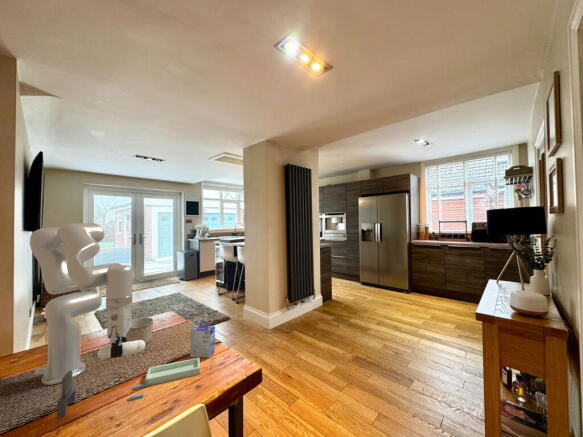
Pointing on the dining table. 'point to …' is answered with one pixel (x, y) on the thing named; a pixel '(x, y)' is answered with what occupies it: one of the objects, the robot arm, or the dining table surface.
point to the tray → (172, 371)
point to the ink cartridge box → (202, 341)
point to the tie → (66, 395)
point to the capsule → (126, 348)
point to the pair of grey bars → (138, 394)
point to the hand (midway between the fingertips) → (118, 352)
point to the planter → (140, 330)
